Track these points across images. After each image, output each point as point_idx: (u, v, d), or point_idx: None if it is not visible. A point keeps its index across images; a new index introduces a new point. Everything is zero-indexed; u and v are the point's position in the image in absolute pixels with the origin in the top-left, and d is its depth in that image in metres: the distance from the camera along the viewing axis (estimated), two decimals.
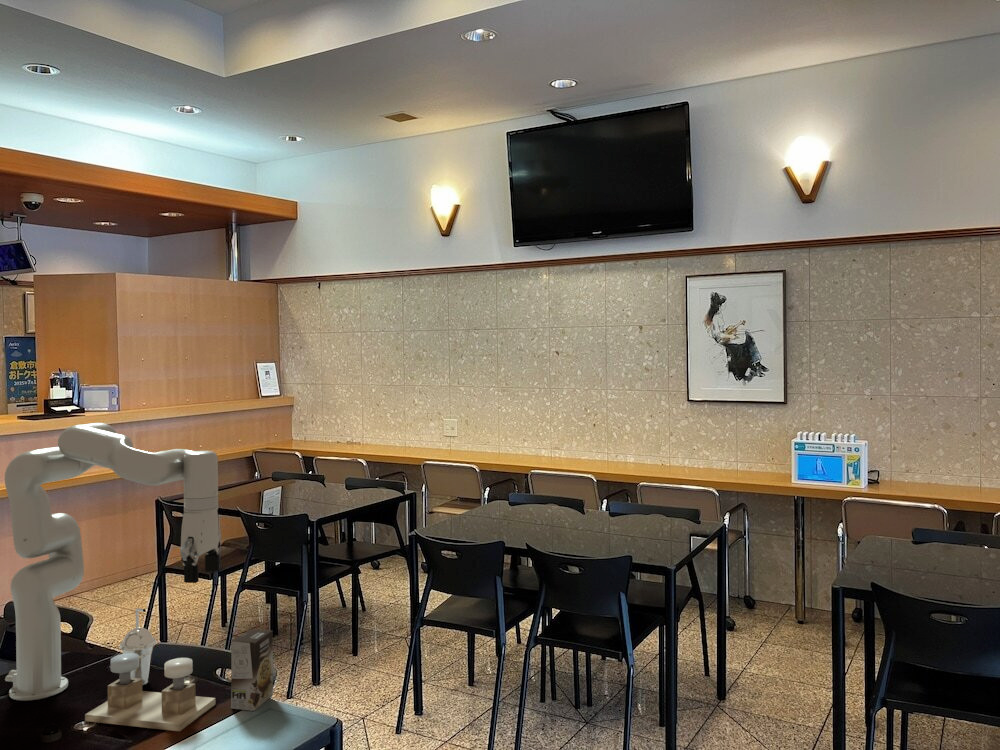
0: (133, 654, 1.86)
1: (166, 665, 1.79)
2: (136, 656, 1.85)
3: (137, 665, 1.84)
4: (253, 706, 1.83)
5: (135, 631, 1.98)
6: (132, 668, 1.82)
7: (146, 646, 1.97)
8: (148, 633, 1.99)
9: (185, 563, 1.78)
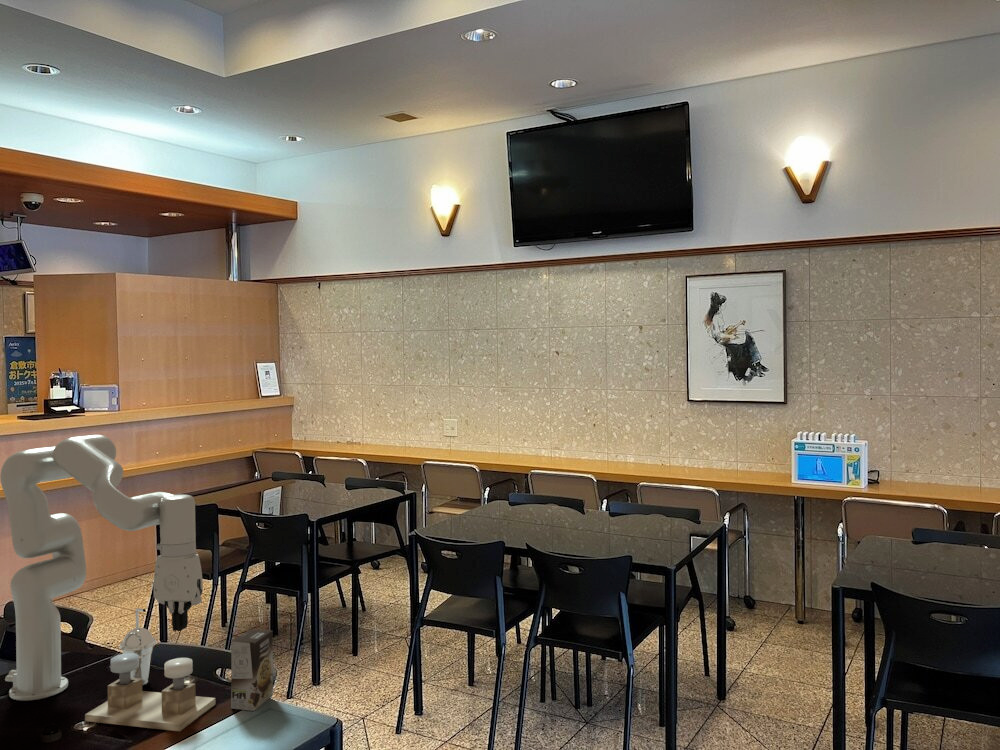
0: (133, 654, 1.86)
1: (166, 665, 1.79)
2: (136, 656, 1.85)
3: (137, 665, 1.84)
4: (253, 706, 1.83)
5: (135, 631, 1.98)
6: (132, 668, 1.82)
7: (146, 646, 1.97)
8: (148, 633, 1.99)
9: (186, 609, 1.80)
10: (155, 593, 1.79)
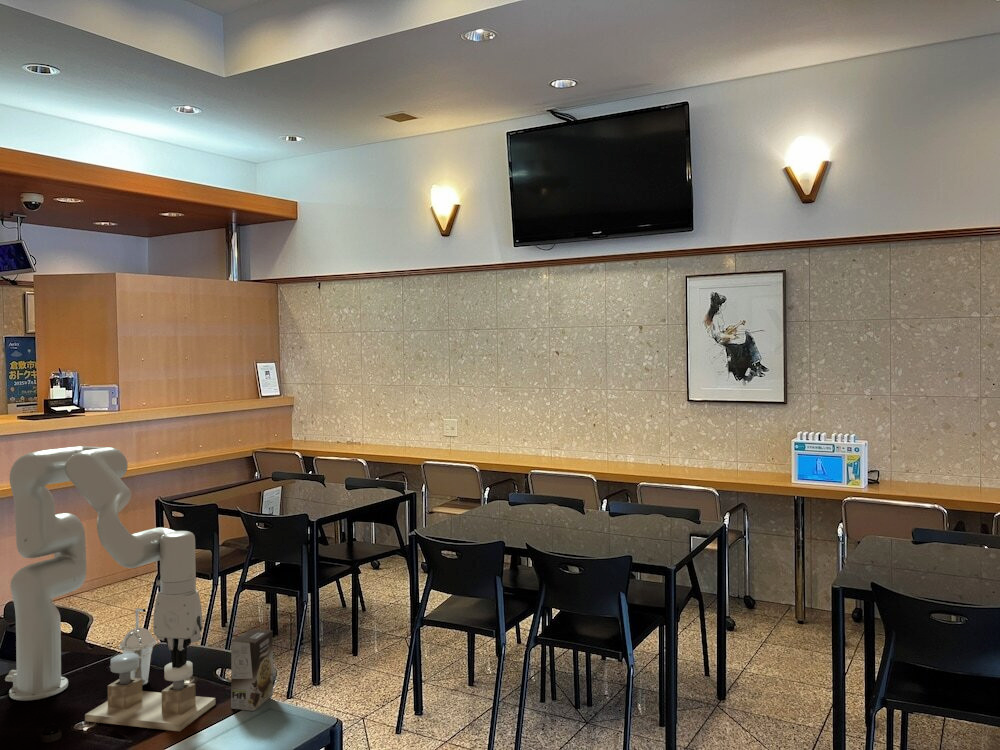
0: (133, 654, 1.86)
1: (166, 668, 1.79)
2: (136, 656, 1.85)
3: (137, 665, 1.84)
4: (253, 706, 1.83)
5: (135, 631, 1.98)
6: (132, 668, 1.82)
7: (146, 646, 1.97)
8: (148, 633, 1.99)
9: (186, 646, 1.80)
10: (155, 630, 1.79)
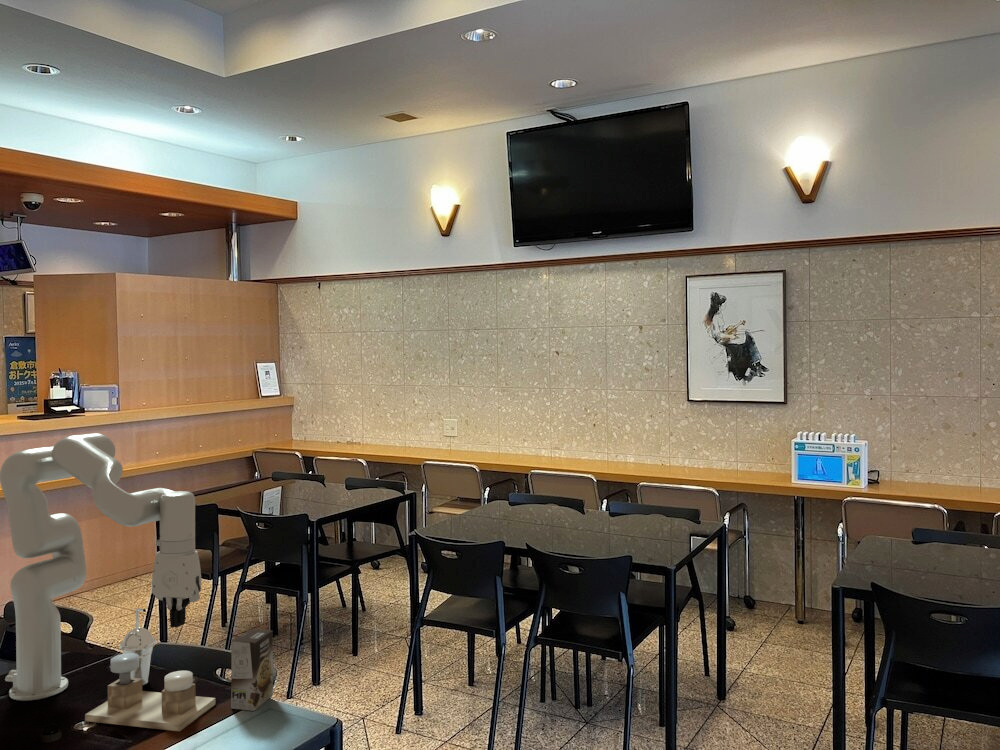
0: (133, 654, 1.86)
1: (166, 678, 1.79)
2: (136, 656, 1.85)
3: (137, 665, 1.84)
4: (253, 706, 1.83)
5: (135, 631, 1.98)
6: (132, 668, 1.82)
7: (146, 646, 1.97)
8: (148, 633, 1.99)
9: (185, 606, 1.80)
10: (153, 589, 1.79)
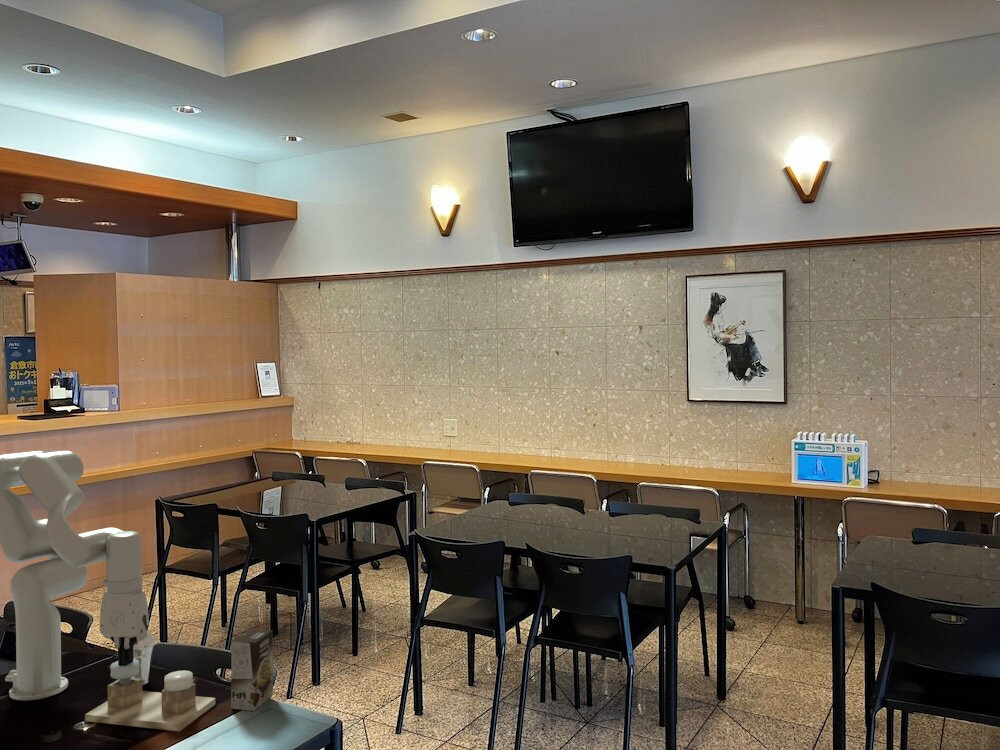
0: (133, 660, 1.86)
1: (166, 678, 1.79)
2: (136, 662, 1.85)
3: (137, 671, 1.84)
4: (253, 706, 1.83)
5: None
6: (132, 674, 1.82)
7: (146, 646, 1.97)
8: (148, 633, 1.99)
9: (132, 644, 1.83)
10: (101, 629, 1.82)
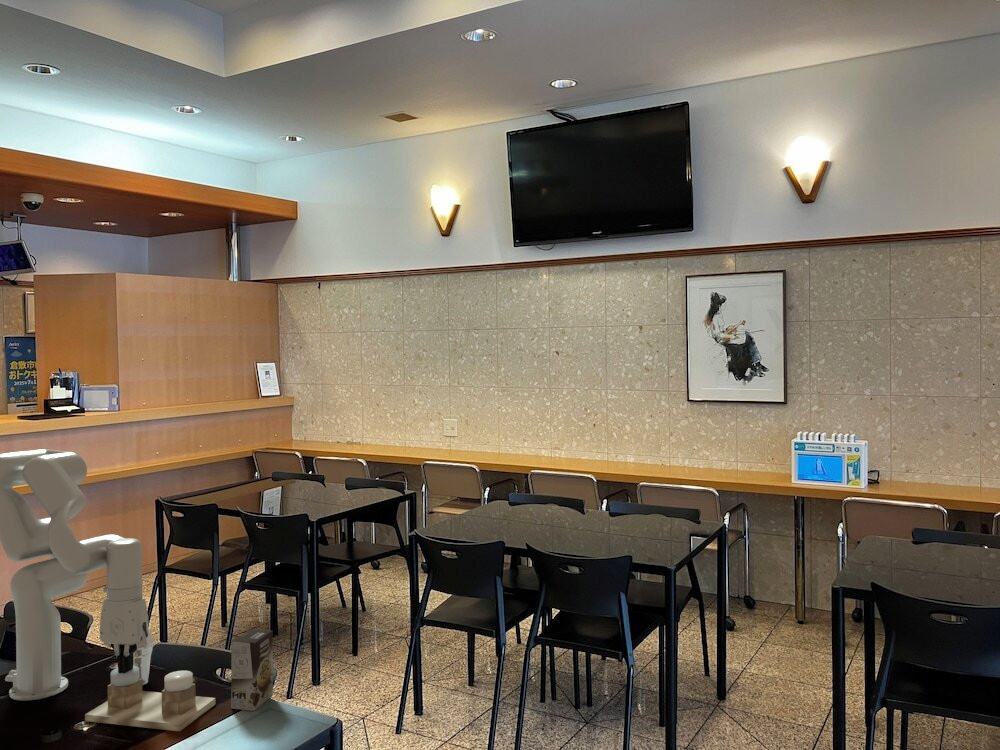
0: (133, 667, 1.86)
1: (166, 678, 1.79)
2: (136, 669, 1.85)
3: (137, 678, 1.84)
4: (253, 706, 1.83)
5: None
6: (132, 681, 1.82)
7: (146, 646, 1.97)
8: (148, 633, 1.99)
9: (132, 652, 1.83)
10: (101, 636, 1.82)
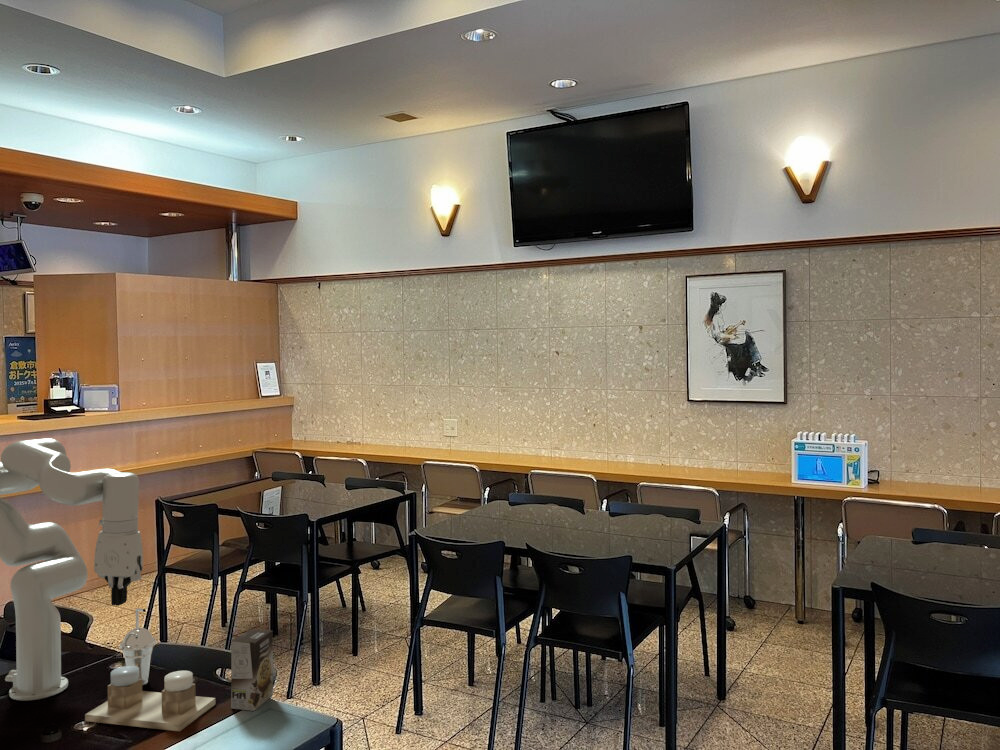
0: (133, 667, 1.86)
1: (166, 678, 1.79)
2: (136, 669, 1.85)
3: (137, 678, 1.84)
4: (253, 706, 1.83)
5: (135, 631, 1.98)
6: (132, 681, 1.82)
7: (146, 646, 1.97)
8: (148, 633, 1.99)
9: (126, 585, 1.83)
10: (95, 567, 1.82)
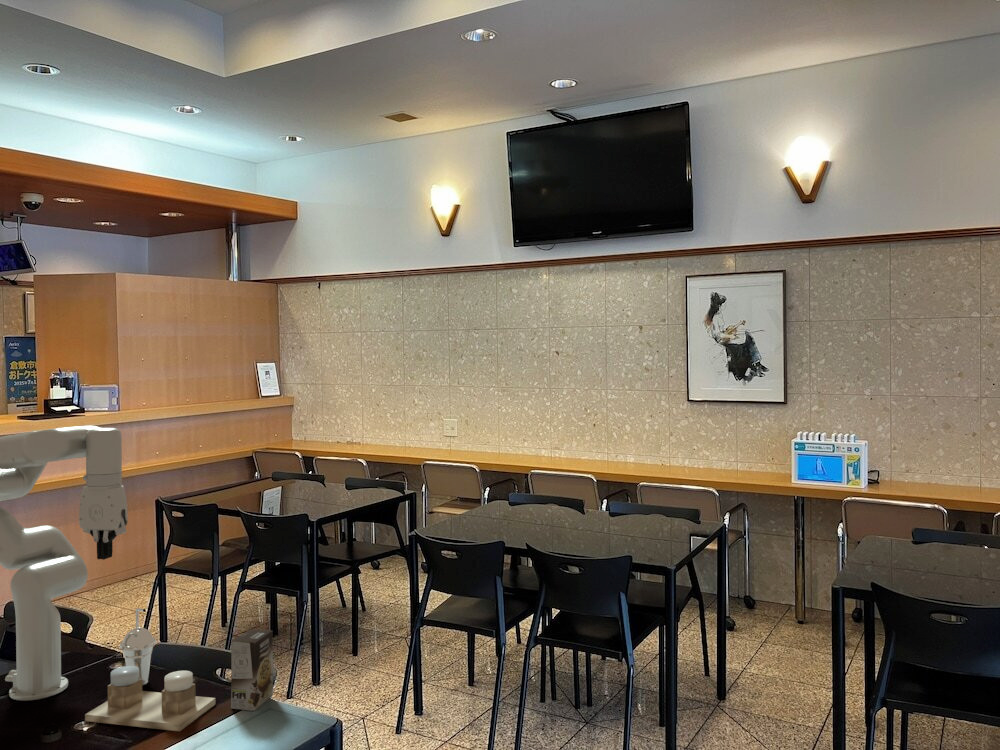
0: (133, 667, 1.86)
1: (166, 678, 1.79)
2: (136, 669, 1.85)
3: (137, 678, 1.84)
4: (253, 706, 1.83)
5: (135, 631, 1.98)
6: (132, 681, 1.82)
7: (146, 646, 1.97)
8: (148, 633, 1.99)
9: (111, 538, 1.85)
10: (80, 522, 1.84)
